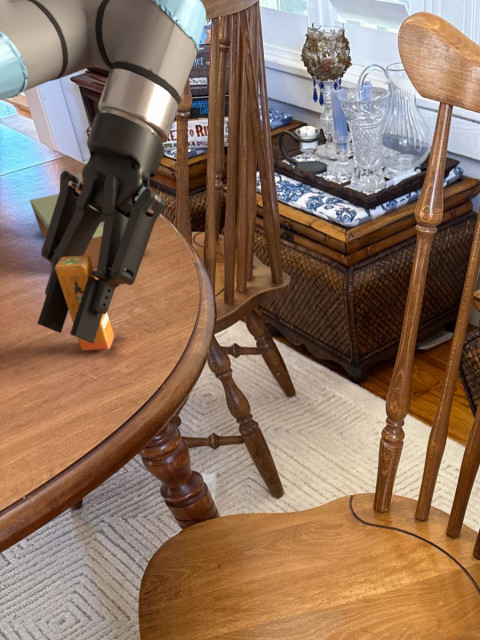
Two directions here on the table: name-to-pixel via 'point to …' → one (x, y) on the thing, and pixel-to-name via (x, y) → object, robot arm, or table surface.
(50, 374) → the table surface
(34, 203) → the shelf
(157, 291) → the table surface
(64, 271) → the supplement box
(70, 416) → the table surface
